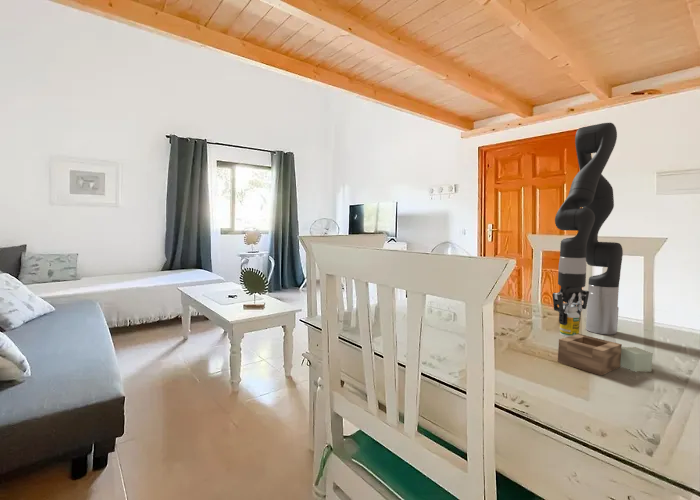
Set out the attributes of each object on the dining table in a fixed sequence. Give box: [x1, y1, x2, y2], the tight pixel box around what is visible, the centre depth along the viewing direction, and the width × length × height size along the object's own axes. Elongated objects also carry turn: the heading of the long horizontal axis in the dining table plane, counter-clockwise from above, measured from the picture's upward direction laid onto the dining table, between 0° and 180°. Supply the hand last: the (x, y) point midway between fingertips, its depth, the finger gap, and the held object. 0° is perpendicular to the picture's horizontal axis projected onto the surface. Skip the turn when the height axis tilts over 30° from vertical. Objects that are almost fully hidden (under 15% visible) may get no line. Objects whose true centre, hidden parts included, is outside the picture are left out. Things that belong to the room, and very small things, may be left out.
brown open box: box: [557, 333, 623, 376], centre depth 101 cm, size 11×11×6 cm
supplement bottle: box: [559, 305, 581, 338], centre depth 116 cm, size 5×5×10 cm
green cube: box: [620, 346, 654, 373], centre depth 99 cm, size 5×5×5 cm
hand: (569, 323), depth 116 cm, fingers closed on supplement bottle, 5 cm apart
